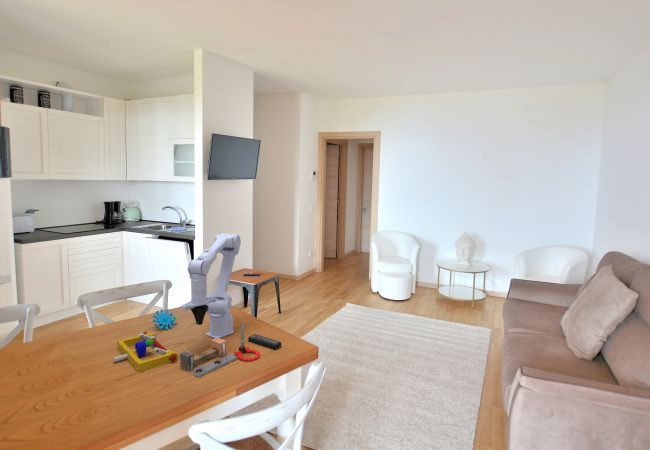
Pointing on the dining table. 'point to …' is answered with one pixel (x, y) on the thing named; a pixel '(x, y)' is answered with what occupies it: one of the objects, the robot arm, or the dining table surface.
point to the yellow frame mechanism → (144, 352)
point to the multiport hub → (264, 342)
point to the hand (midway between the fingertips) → (199, 324)
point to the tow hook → (245, 349)
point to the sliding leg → (219, 346)
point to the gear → (164, 319)
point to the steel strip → (214, 365)
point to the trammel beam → (196, 358)
